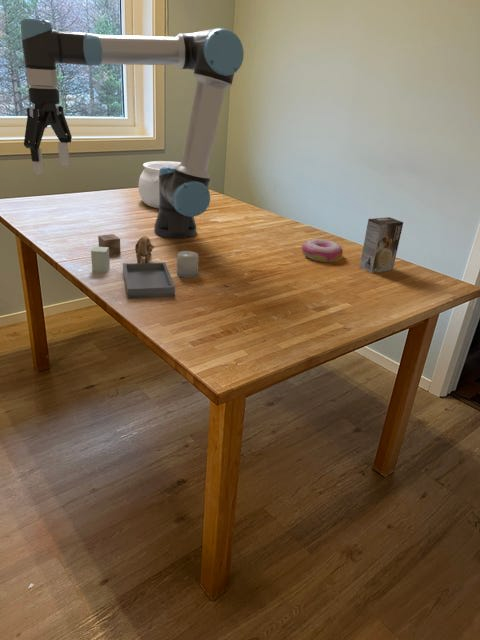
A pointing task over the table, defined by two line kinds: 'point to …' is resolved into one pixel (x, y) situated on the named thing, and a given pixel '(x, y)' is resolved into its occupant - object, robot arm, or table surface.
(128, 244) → the table surface
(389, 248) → the coffee box
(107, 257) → the sage block
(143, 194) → the pot
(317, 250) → the donut
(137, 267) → the slate tray
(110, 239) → the walnut block
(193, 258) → the pale grey rounded cylinder
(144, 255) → the lion figurine
